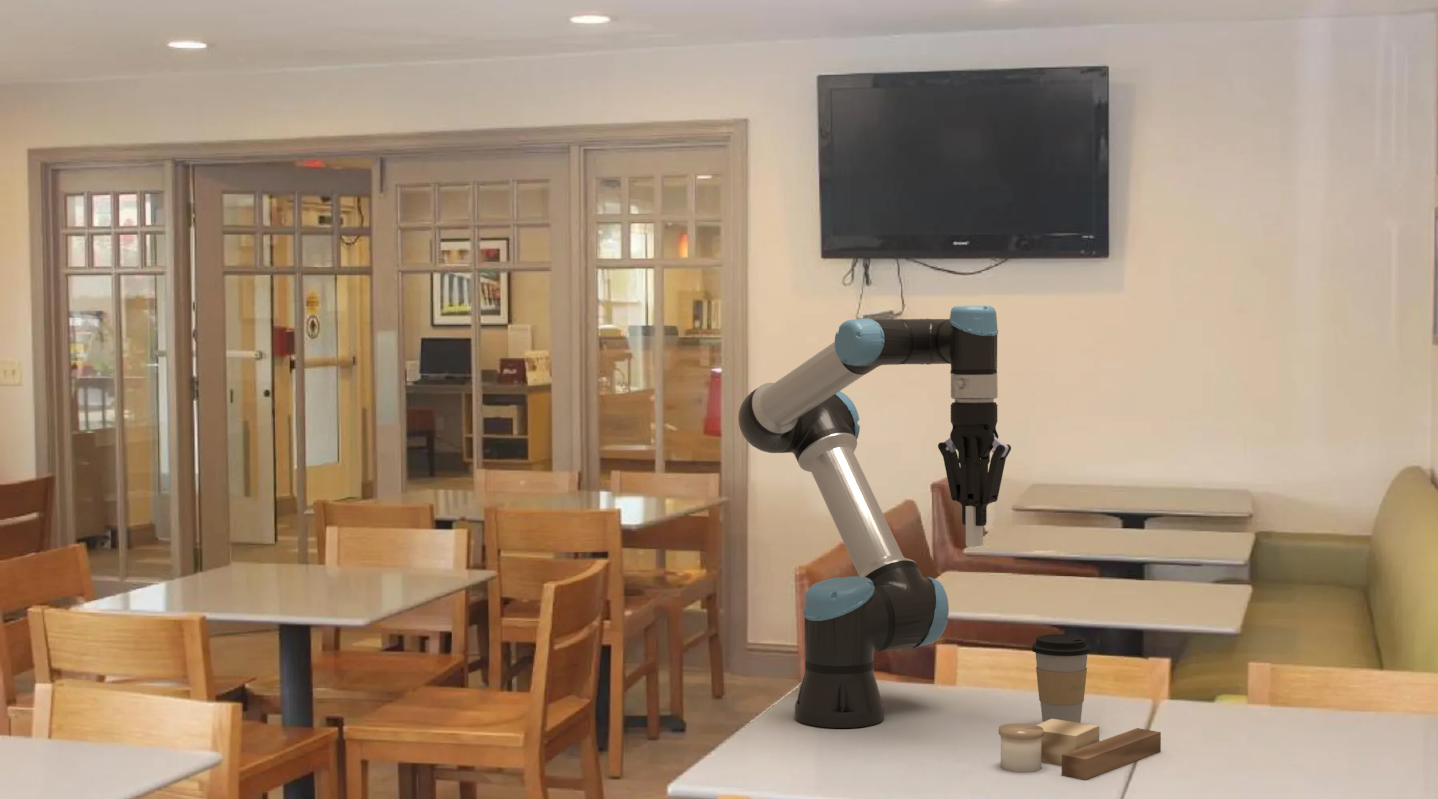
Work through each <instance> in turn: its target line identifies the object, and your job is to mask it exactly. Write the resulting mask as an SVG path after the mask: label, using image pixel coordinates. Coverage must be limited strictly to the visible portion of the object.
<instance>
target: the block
mask: <svg viewBox="0 0 1438 799" xmlns="http://www.w3.org/2000/svg"><path fill="white" fill-rule="evenodd" d="M1035 725H1036V726H1040V727H1042V728H1043V736H1042V737H1041V763H1043V764H1044V763H1045V764H1051V765H1054V766H1055V765H1056V766H1061V767H1062V754H1065V753H1068V752H1071V751H1074V750H1077V749H1079V748H1082V747H1085V746H1088V745H1091V744H1094V743H1096V742H1099V741H1100V725H1097V724H1090V723H1089V724H1088V723H1082V722H1081V723H1077V722H1070V721H1064V720H1057V719H1050V720H1047V721H1045V722H1042V721H1041V722H1040V723H1038V724H1035Z"/></svg>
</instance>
